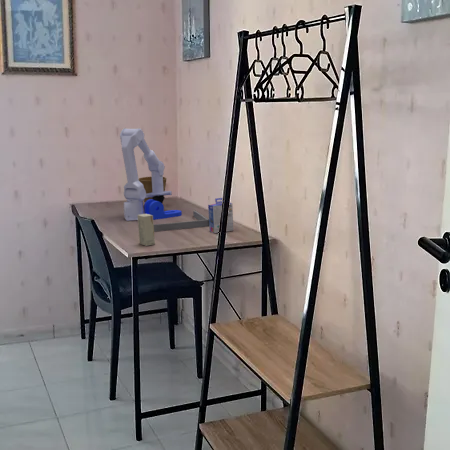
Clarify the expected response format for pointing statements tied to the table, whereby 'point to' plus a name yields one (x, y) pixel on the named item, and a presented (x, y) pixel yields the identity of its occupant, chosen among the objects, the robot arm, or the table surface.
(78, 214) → the table surface
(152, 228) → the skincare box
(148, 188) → the plant pot
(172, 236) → the table surface
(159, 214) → the bracket
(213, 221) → the ink cartridge box
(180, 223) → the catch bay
